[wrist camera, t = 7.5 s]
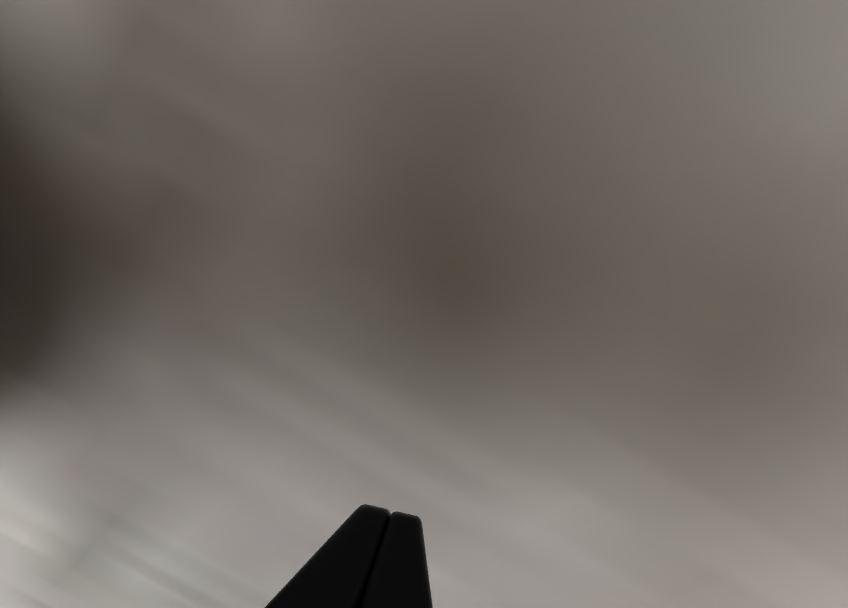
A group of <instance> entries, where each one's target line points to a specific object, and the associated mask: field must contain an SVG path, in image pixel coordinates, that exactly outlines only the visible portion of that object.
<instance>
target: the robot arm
mask: <svg viewBox="0 0 848 608" xmlns="http://www.w3.org/2000/svg"><path fill="white" fill-rule="evenodd" d="M265 608H433V607H432V599H431V591H430V583H429V575H428V568H427V560H426V552H425V544H424V537H423V529H422V522H421V519H420V518H419V517H418V516H415V515H410V514H406V513H402V512H393V513H392V514H390V511H389V510H387V509H384V508H380V507H376V506H371V505H367V504H364V505H361V506H360V507H358V508H357V509H356V510H355V511H354V512H353V513H352V515H351V516H350V517H349V518H348V519H347V520H346V521H345V522H344V523H343V524H342V525H341V526H340V527H339V528H338V530H337V531H336V532H335V533H334V534H333V535H332V536H331V537H330V538H329V539H328V540H327V541H326V542H325V543H324V545H323V546H322V547H321V548H320V549H319V550H318V551H317V552H316V553H315V554H314V555H313V556H312V557H311V558H310V560H309V561H308V562H307V563H306V564H305V565H304V566H303V567H302V568H301V569H300V570H299V571H298V572H297V573H296V575H295V576H294V577H293V578H292V579H291V580H290V581H289V582H288V583H287V584H286V585H285V586H284V587H283V588H282V590H281V591H280V592H279V593H278V594H277V595H276V596H275V597H274V598H273V599H272V600H271V601H270V602H269V603H268V605H267V606H266V607H265Z"/></svg>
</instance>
